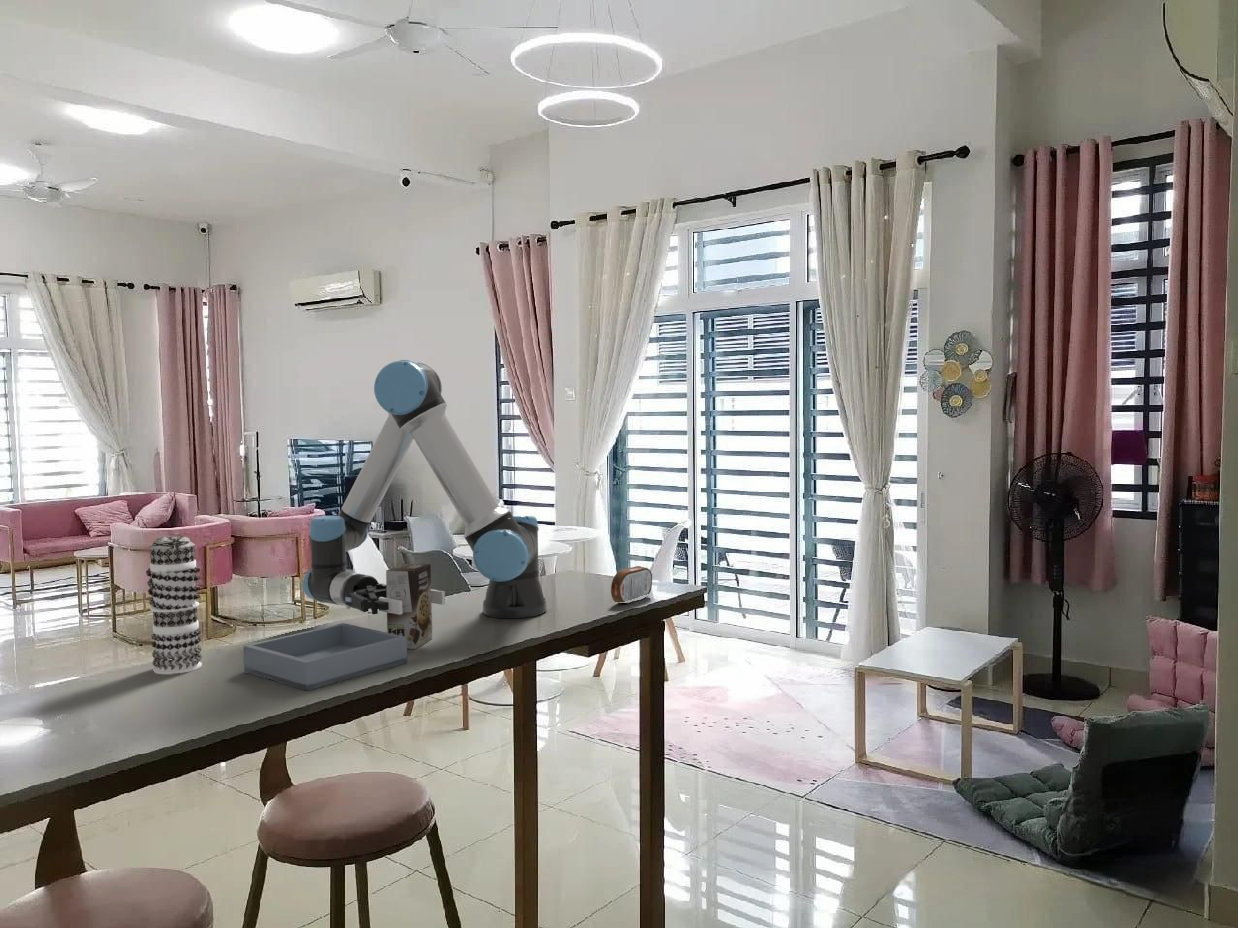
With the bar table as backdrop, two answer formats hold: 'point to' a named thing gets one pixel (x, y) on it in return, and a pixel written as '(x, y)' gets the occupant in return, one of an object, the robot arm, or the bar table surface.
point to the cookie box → (411, 603)
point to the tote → (324, 655)
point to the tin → (631, 583)
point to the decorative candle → (174, 605)
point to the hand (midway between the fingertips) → (422, 602)
